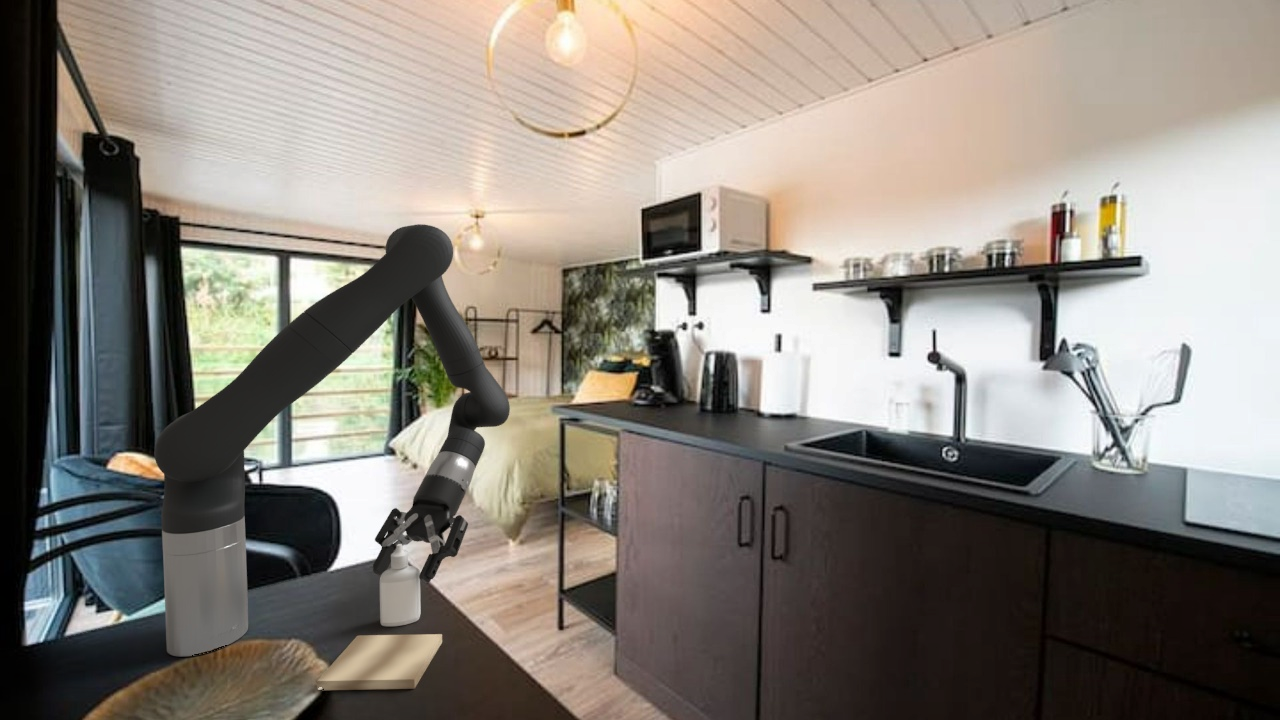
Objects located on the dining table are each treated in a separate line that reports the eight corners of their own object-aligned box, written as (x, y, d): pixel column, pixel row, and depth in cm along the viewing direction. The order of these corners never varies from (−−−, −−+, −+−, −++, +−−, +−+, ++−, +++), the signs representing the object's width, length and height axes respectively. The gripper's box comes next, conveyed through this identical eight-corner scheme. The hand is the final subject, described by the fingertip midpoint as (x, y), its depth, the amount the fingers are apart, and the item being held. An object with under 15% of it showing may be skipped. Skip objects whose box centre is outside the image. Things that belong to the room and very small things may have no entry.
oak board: (317, 690, 66) (316, 681, 66) (357, 643, 76) (357, 635, 76) (414, 688, 66) (414, 679, 66) (442, 642, 76) (442, 634, 76)
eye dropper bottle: (407, 630, 79) (406, 552, 78) (375, 626, 80) (373, 548, 80) (425, 615, 83) (424, 540, 83) (394, 611, 85) (392, 537, 84)
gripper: (400, 470, 91) (348, 562, 81) (472, 475, 87) (427, 573, 77) (421, 491, 97) (375, 580, 86) (490, 498, 93) (451, 592, 82)
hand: (400, 577), depth 82 cm, fingers open, 8 cm apart
